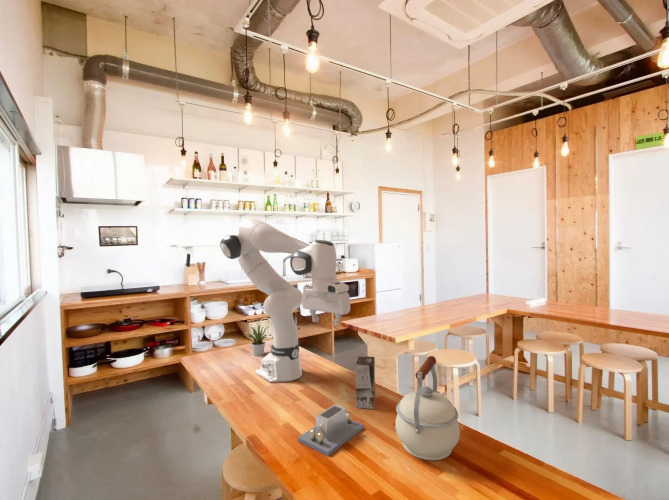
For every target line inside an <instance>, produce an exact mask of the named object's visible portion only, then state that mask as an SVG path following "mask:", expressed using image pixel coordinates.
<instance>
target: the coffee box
mask: <svg viewBox="0 0 669 500" xmlns="http://www.w3.org/2000/svg"><path fill="white" fill-rule="evenodd" d="M375 364H376V363H375V356H358V357H357V360H356V363H355V405H356V406H355V407H356V408H358V409H360V408H361V409H370V410H373V409H374V405H375V399H376V378H375V377H376V373H375V372H376V371H375V369H376V367H375V366H376V365H375Z"/></svg>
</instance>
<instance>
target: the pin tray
mask: <svg viewBox="0 0 669 500" xmlns="http://www.w3.org/2000/svg"><path fill="white" fill-rule="evenodd" d="M364 427H365V426H364V424H363V423H360V422H358V421H355V420H352V413H351V412H347V426H346V427H345V428H344V429H342V430H341V431H340V432H338V433H337V434H336V435H334V436H333V437H331V438H330V439H329V440H324V439H323V432H318V436H316V425H315V426H313V427H312V428H310V429H309V430H307V431H306V432H304V433H303V434H301V435H300V436H298V437H297V441H298V443H301V444H303V445H305V446H307V447H309V448H311V449H313V450H315V451H317V452H318V453H321V454H322V455H325V456H327V457H329V456H330V455H332V454H333V453H335V452H336V451H337V450H339V448H341V447H342V446H343V445H344V444H346V443H347V442H348V441H350V440H351V439H352V438H353V437H354V436H356V435H357V434H359V432H361V431H362V430H363V429H364Z"/></svg>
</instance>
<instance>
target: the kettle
mask: <svg viewBox="0 0 669 500" xmlns="http://www.w3.org/2000/svg"><path fill="white" fill-rule="evenodd" d="M436 363H437V358H436V357H435V356H434V355H429V356H427V359H426V360H424V362H423V364H422V365H421V366H420V368H419V370H417V371H416V373H415V378H416V380H417V383H416V390H415V391H411V392H409V393H407V394H405V395H404V396H403V397H402V398H401V400H400V401H399V402H398V403H397V405H396V409H395V411H396V413H397V414H396V417H395V427H394V428H395V432H396V435H397V437H398V438H399V440H400V441H401V442H402V446H403V447H404V449H405V450H406V452H408V453H409V454H410V455H411V456H413V457H416V458H417V459H421V460H425V461H440V460H443V459H446V458H447V457H449V456H450V455H451V453H452V451H453V449H454V448H455V447H456V446H457V445H458V442H459V441H460V435H461V432H460V431H461V430H460V425H459V421H458V419H459V411H458V410H457V408H456V407H455V406H454V405H453V403H452V401H450V399H448V398H447V397H446V396H444V395H442V394H441V392H440V391H439V390H438V376H437V371H436V368H435V366H436ZM429 372H431V376H432V388H431V387H429V386H427V385H426V386H423V381H424V380H425V379H426V376H427V375H428V374H429Z"/></svg>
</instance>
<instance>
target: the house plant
mask: <svg viewBox="0 0 669 500" xmlns="http://www.w3.org/2000/svg"><path fill="white" fill-rule="evenodd" d="M256 326H257V330H256V328H255V327H253V325H251V326H248V327H249V328H250V329H251V330H249V329H248V328H246V330H247V331H250V332H251V333H249V332H246V331H244V333H245V334H246V335H247V337H246V339H248V338H250V339H252V340H253V342H252V343H251V348H252V353H253V356H255V357H261V356H263V355H264V354H265V345H266V341H263V340H264V339H265V340H266V339H267V338H269V337H268V334H265V333H266V332H267V330H268V328H269V327H272V324H270V325H267V326H266V325H263V326H262V327H261V323H259V325H258V324H256ZM264 327H265V328H264ZM263 329H264V330H263Z"/></svg>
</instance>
